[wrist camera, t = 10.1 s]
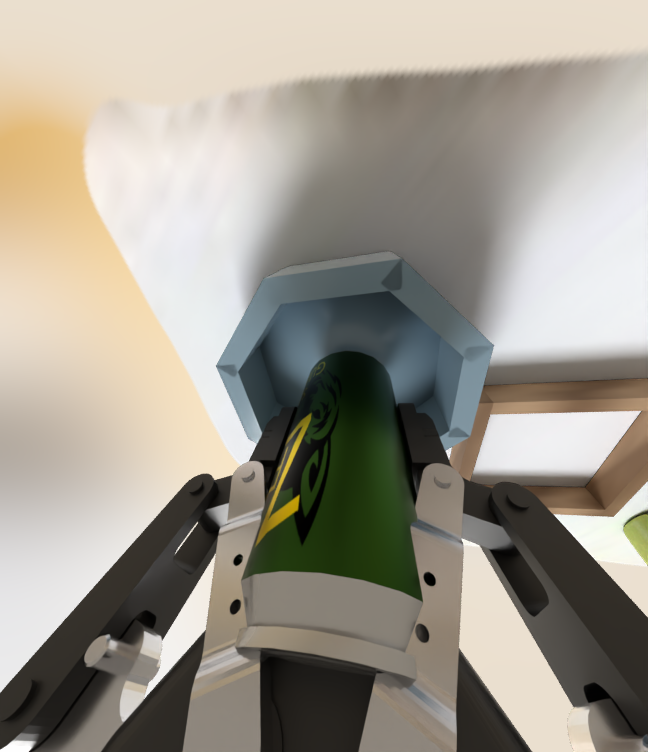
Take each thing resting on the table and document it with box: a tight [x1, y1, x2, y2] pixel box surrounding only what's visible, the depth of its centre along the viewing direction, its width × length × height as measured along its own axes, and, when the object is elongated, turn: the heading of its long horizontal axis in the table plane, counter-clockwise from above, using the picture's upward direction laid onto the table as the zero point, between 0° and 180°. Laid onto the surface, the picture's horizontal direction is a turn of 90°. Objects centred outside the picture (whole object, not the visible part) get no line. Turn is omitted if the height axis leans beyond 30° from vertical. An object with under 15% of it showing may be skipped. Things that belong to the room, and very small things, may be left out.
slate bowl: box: [216, 251, 494, 451], centre depth 15 cm, size 14×14×4 cm
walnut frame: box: [449, 378, 648, 517], centre depth 18 cm, size 13×13×2 cm
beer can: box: [235, 350, 432, 680], centre depth 10 cm, size 5×5×12 cm
